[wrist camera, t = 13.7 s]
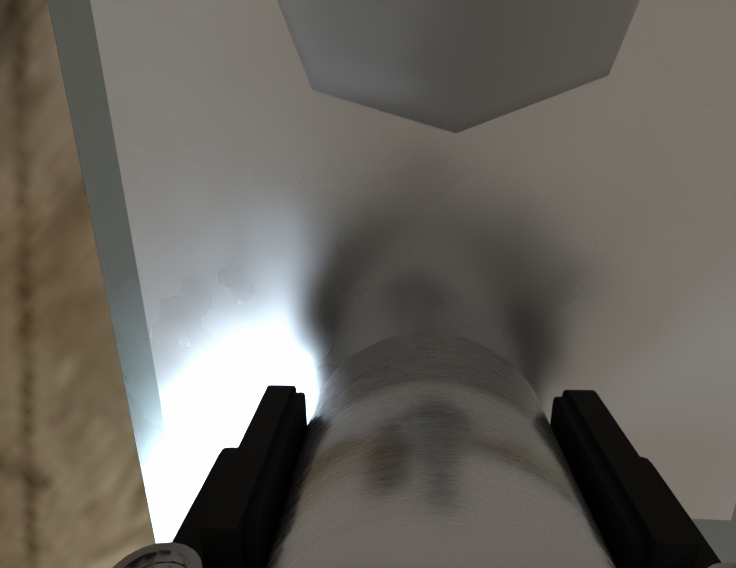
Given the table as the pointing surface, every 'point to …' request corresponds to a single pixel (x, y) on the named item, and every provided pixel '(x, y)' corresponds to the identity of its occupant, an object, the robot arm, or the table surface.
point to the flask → (455, 52)
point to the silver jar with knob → (432, 468)
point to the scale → (408, 232)
